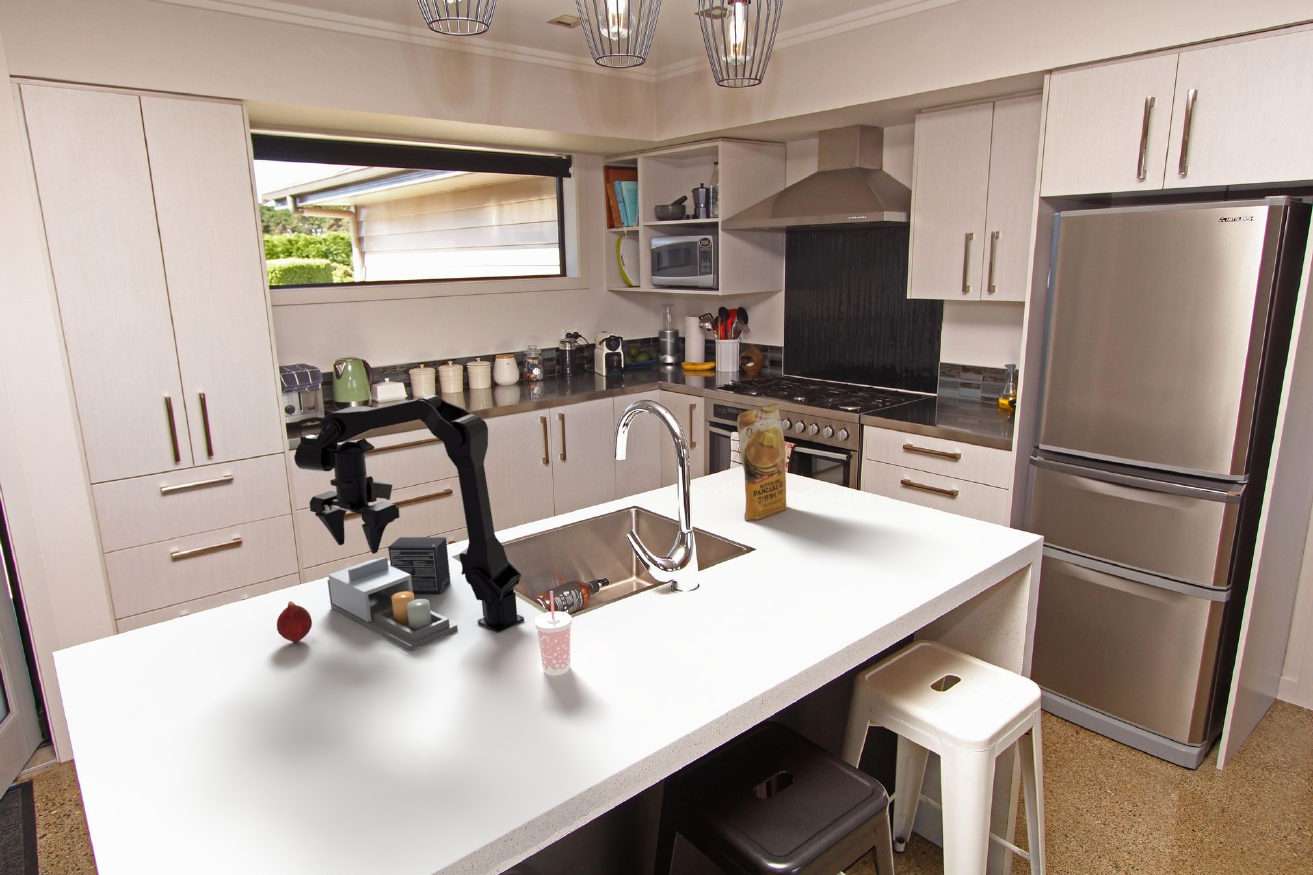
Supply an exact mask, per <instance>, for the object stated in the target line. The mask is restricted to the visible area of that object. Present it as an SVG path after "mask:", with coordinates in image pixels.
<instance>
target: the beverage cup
mask: <svg viewBox="0 0 1313 875" xmlns="http://www.w3.org/2000/svg"><path fill="white" fill-rule="evenodd" d="M549 596H550V610H551V611H547V612H545V613H541V614H540V615H538V616H537V617H536V618H535V619H534V624H535V629H536V630H537V636H538V637H537V638H538V643H539V650H540V657H541V666H542V671H543V673H544V674H545V675H547V676H561V675H564V674H566V673H567V672H569V671H570V669H571V625H572V624H573V622H572V620H573V618H572V615H570V614H569V613H567V612H564V611H555V606H554V605H555V604H554V603H555V602H554V601H555V600H554V591H553V590H550V591H549Z"/></svg>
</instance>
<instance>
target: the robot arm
mask: <svg viewBox="0 0 1313 875" xmlns="http://www.w3.org/2000/svg"><path fill="white" fill-rule="evenodd" d="M419 420H420V421H421V422H423V423H424V424H425V426H426V428H427V429H428V430H429V432H430V433H431V434H432V435H433V436H434V437H435V438H437V439H438V440H440V441H441V442H442V443H443V446H444V449H445V452H446V456H447V457H448V458H449V459H450V461H451V462H452V463H453V465H454V466H455V467H456V471H457V476H458V481H459V487H460V492H461V494H460V495H461V499H462V500H461V501H462V506H463V512H464V518H465V519H464V520H465V526H466V530H467V531H466V532H467V536H468V537H467V538H468V546H467V548H465V549H464V550H463V551H461V552H459V562H460V564H461V569H462V570H461V575H464V579H465V580H466V581H465V582H466V583H467V584H468V585H470V587H471V590H472V592H473V593H474V596H475V598H476V600H477V601H481V607H482V615H483V617H481V618H479V619H477V624H479V625H481V626H483V627H485V628H487V629H489V630H492V631H494V632H498V633H499V632H502V631H504V630H506V629H509V628H510V627H513V626H514V625H517V624H519V623H521V622H523V621H524V620H525V617H524V616H522V615H520V614H518V611H517V610H518V608H517V594H516V592H515V590H514V588H515V587H516V586H518V585H519V584H520V583H521V582H520V581H521V577H522V574H521V573H520V572H519V571H518V569H517V568H516V567H515V566H513V565H512V564H511V563H510V562H509V559H508V557H507V553H506V551H505V549H504V546H503V545H502V543H501V541H499V539H498V538H497V537H496V534H495V528H494V521H493V515H492V509H491V502H490V497H489V496H490V495H489V490H488V489H489V487H488V482H487V476H486V470H485V459H486V455H487V450H488V447H489V427H488V424H487V422H486V421H485V420H484V419H483V418H481V417H480V416H479V415H476V414H472V413H471V412H469V411H468V410H466V409H465V408H463V407H460V406H458V405H455V404H453V403H450V402H447V401H446V400H445V399H444V398H442V397H440V396H439V395H436V394H429V395H425V396H422V397H420V398H414V399H411V400H406V401H400V402H395V403H392V404H388V405H382V406H378V407H375V406H374V407H370V406H366V405H365V406H359V405H358V406H354V405H353V406H349V407H346V408H343V409H339V410H337V411H333V412H330V413H328V414H327V415H326V416H325V419H324V421H323V427H322V429H321V430H320V432H319V434H318V435H314V434H305V435H301V436H300V437H299V439H300V443H299V444H298V445H297V446H296V449H295V453H294V455H293V456H294V463H295V465H296V466H297V467H298V468H299V469H300V470H301V469H302V470H305V471H306V470H308V471H318V472H331V471H332V470H333V469H334V470H333V471H334V479H330V481H329V482H330V486H332V487H333V486H334V487H335V490H336V491H334V490H328V491H326V492H324V493H323V492H322V493H321V494H320V493H319V494H317V495H314V496H312V497H311V499H310V501H309V503H308V504H309V511H310V512H312V513H314V515H315V517H318V518H319V520H320V521H321V522H322V524H323V525H324V526H325V528H326V529H327V531H328V532H329V533H330V535H331V536H332V538H333V539H334V540H335V542H336V543H337V545H338V546H343V545H344V544H345V538H346V537H345V534H346V533H345V515H346V513H347V512H349V513H350V512H351V513H356V514H360V515H361V520H362V521H363V524H361V528H362V531H363V533H364V536H365V539H366V541H367V545H368V548H369V550H370V552H371V554H374V555H375V554H377V553H378V552H379V548H380V545H381V541H382V537H383V534H384V532H385V530H386V527H387V526H388V525H389V524H390V523H393V522H394V521H395V520H396V519H400V507H399V506H398V505H397V504H395V503H392V502H387V501H379V502H377V501H378V500H377V499H384V500H388V501H389V500H390V501H391V497H392V490H393V486H394V485H393V484H391V483H387V482H381V481H376V480H375V481H374V478H373V476H372V475H369V474H367V465H366V453H369V452H371V451H374V450H375V446H374V445H373V444H372V443H370V442H369V441H368V440H367V439H366V438H364V437H363V438H361V439H358V440H357V441H348V440H351V439H353V438H356V437H359V436H361V435H364V434H367V433H369V432H371V431H373V430H375V429H380V428H386V427H390V426H394V425H399V424H403V423H404V424H405V423H409V422H414V421H419ZM339 443H341V444H339ZM375 502H377V503H375ZM369 503H375V504H372V505H369Z"/></svg>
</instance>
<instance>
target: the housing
mask: <svg viewBox="0 0 1313 875" xmlns="http://www.w3.org/2000/svg"><path fill="white" fill-rule="evenodd" d="M327 587H328V588H327V589H328V594H329V595H328V596H329V600H330V603H329V604H330V608H331V609H333V610H335V612H338V613H339V614H340V615H341V614H342V615H343V616H346V617H347V618H348V619H351V620H353V621H354V622H356V623H358V624H360V625H362V626H363V627H365V628H368V629H369V630H371V631H373V632H375V633H377V634H379V635H380V636H382V637H384V638H386V639H388V640H390V641H392V642H393V643H395V644H398V645H399V646H401V647H403V648H404V649H406V650H408V651H410V652H412V651H414V650H417V649H418V648H421V647H423V646H424V645H427V644H429V643H432V642H434V641H437V640H438V639H440V638H443V637H444V636H447V635H450V634H451V633H454V632H456V631H458V629H459V628H458V624H456V623H454V622H452V621H450V619H449V618H448V617H446V616H444V615H442V614H439V613H438V612H435V611H433V610H431V603H430V600H428V599H427V598H426V599H425V598H416V599H414V600H413V601H411V602H409V603H408V604H407V611H408V620H409V624H407V625H401V624H399V623H397V622H395V621H394V616H393V607H392V595H390V594H388V593H385V592H383V591H381V590H379V591H377V592H374V593H372V594H369V595H368V598H369V606H370V614H371V621H369V622H367V621H365V620H363V619H361V618H359V617H358V616H356V615H354V614H352V613H350V612H348V611H346V610H344V609H342V608H341V607H339V606H337V605H335V604H333V603H332V598H331V591H330V583H329V579H327Z"/></svg>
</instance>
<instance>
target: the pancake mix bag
mask: <svg viewBox="0 0 1313 875" xmlns="http://www.w3.org/2000/svg"><path fill="white" fill-rule="evenodd" d="M736 428H737V434H738V440H739V452H740V455H739V456H740V461H741V464H742V467H743V471H744V473H743V475H744V490H745V491H744V492H745V512H744V518H743V519H744V521H758V520H762V519H764V518H768V517H771V516H773V515H777V514H779V513H781V512H784V511H785V510H787V477H786V475H787V474H786V470H787V468H786V466H787V464H786V462H787V461H786V446H785V445H786V444H785V443H786V442H785V435H784V430H783V423H782V417H781V411H780V407H779V405H777V403H772V404H769V405H765V406H760V407H756V408H753V409H748V410H746V411H743V412H740V413H739V414H738V416H737V422H736Z"/></svg>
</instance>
